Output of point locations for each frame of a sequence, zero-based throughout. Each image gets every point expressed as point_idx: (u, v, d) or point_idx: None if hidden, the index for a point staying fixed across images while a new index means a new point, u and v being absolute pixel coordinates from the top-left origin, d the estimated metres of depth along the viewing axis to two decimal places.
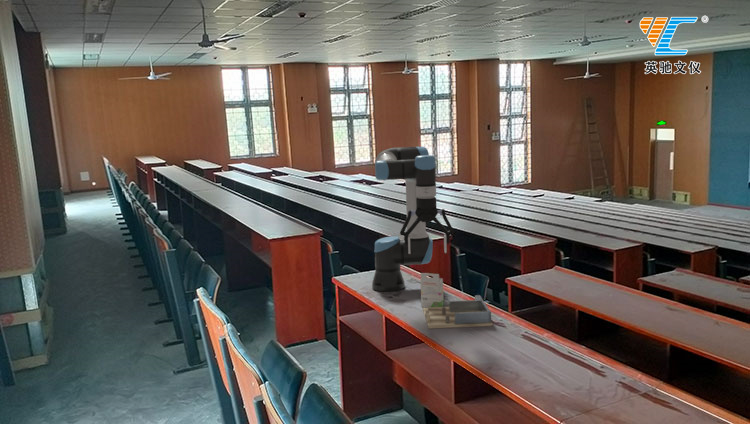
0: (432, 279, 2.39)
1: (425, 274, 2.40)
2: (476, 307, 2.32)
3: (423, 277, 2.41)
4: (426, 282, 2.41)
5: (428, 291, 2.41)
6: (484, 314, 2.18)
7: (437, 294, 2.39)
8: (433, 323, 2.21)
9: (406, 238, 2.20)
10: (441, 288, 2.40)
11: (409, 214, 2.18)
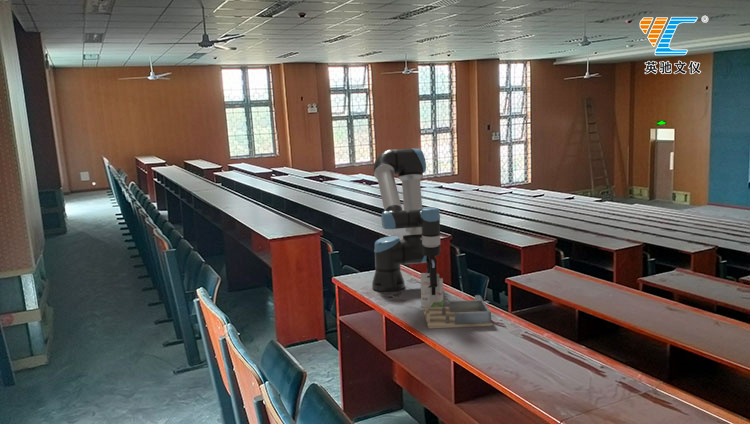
0: None
1: (425, 274, 2.40)
2: (476, 307, 2.32)
3: (423, 277, 2.41)
4: (426, 282, 2.41)
5: (428, 291, 2.41)
6: (484, 314, 2.18)
7: (437, 294, 2.39)
8: (433, 323, 2.21)
9: None
10: (441, 288, 2.40)
11: None
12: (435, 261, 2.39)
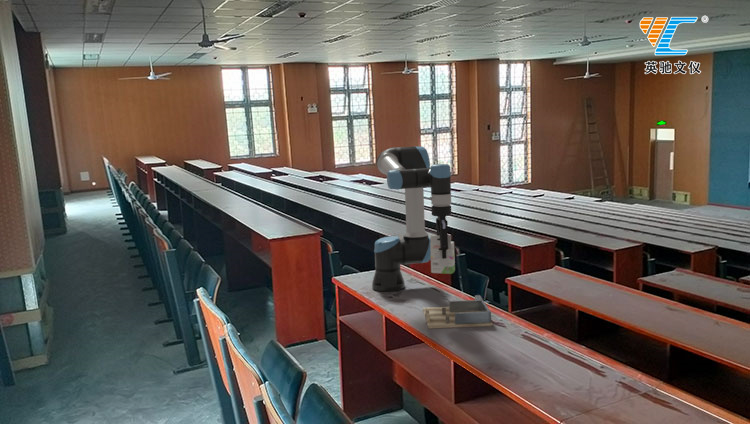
0: None
1: (436, 236, 2.22)
2: (476, 307, 2.32)
3: (433, 241, 2.23)
4: (436, 246, 2.22)
5: (438, 255, 2.23)
6: (484, 314, 2.18)
7: (449, 258, 2.21)
8: (433, 323, 2.21)
9: None
10: (453, 252, 2.22)
11: None
12: (446, 222, 2.21)
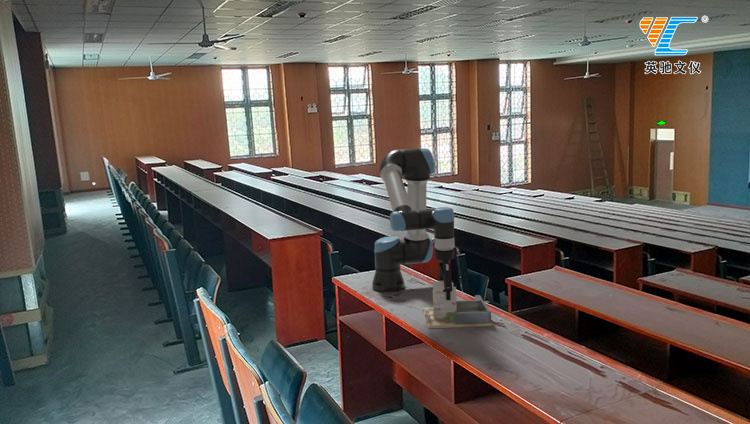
0: None
1: (438, 282, 2.24)
2: (476, 307, 2.32)
3: (435, 286, 2.24)
4: (439, 291, 2.24)
5: (441, 301, 2.24)
6: (484, 314, 2.18)
7: (452, 304, 2.23)
8: (433, 323, 2.21)
9: (440, 281, 2.32)
10: (455, 297, 2.25)
11: (439, 260, 2.29)
12: (449, 265, 2.21)
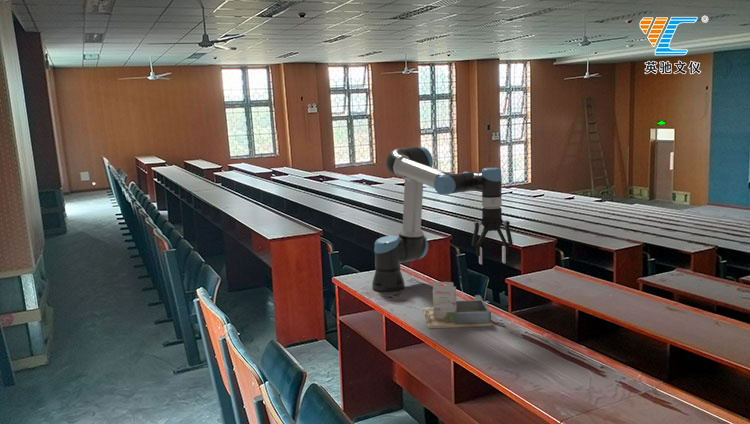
0: (446, 288, 2.23)
1: (438, 282, 2.24)
2: (476, 307, 2.32)
3: (435, 286, 2.24)
4: (439, 291, 2.24)
5: (441, 301, 2.24)
6: (484, 314, 2.18)
7: (451, 304, 2.23)
8: (433, 323, 2.21)
9: (478, 249, 2.32)
10: (455, 297, 2.25)
11: (477, 226, 2.30)
12: None
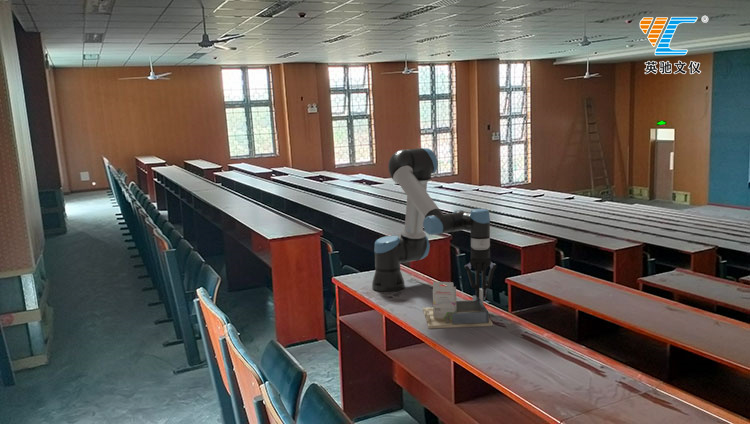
0: (446, 288, 2.23)
1: (438, 282, 2.24)
2: (474, 307, 2.32)
3: (435, 286, 2.24)
4: (439, 291, 2.24)
5: (441, 301, 2.24)
6: (481, 314, 2.18)
7: (451, 304, 2.23)
8: (433, 323, 2.21)
9: (477, 291, 2.35)
10: (455, 297, 2.25)
11: (467, 269, 2.33)
12: None
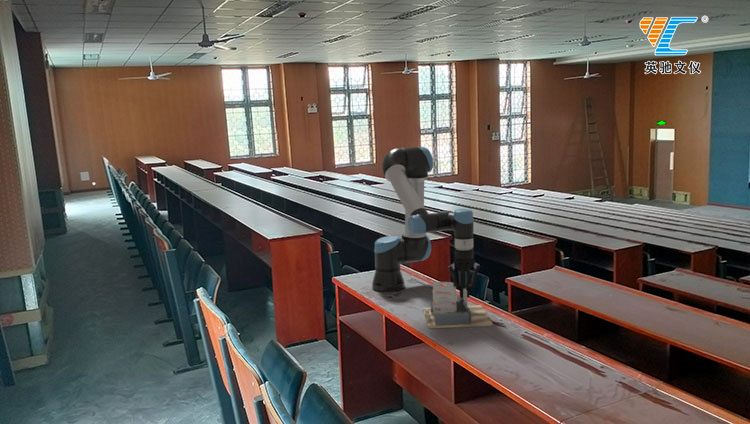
0: (446, 288, 2.23)
1: (438, 282, 2.24)
2: (457, 308, 2.32)
3: (435, 286, 2.24)
4: (439, 291, 2.24)
5: (441, 301, 2.24)
6: (464, 315, 2.18)
7: (451, 304, 2.23)
8: (433, 323, 2.21)
9: (461, 292, 2.35)
10: (455, 297, 2.25)
11: (451, 269, 2.33)
12: None
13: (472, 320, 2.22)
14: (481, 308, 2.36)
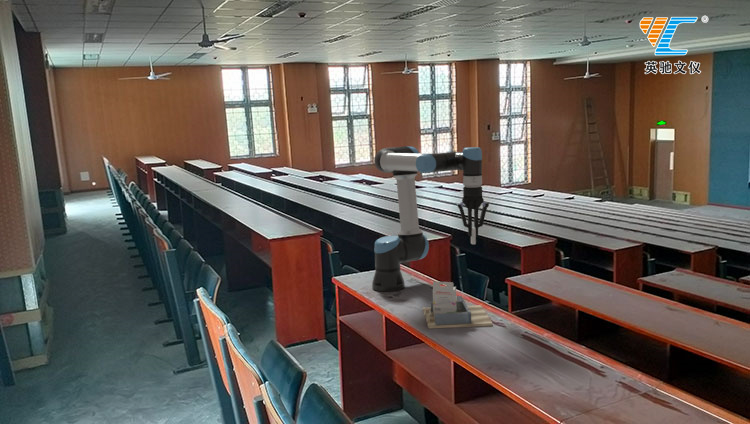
0: (446, 288, 2.23)
1: (438, 282, 2.24)
2: (457, 308, 2.32)
3: (435, 286, 2.24)
4: (439, 291, 2.24)
5: (441, 301, 2.24)
6: (464, 315, 2.18)
7: (451, 304, 2.23)
8: (433, 323, 2.21)
9: (470, 230, 2.36)
10: (455, 297, 2.25)
11: (460, 207, 2.34)
12: None
13: (472, 320, 2.22)
14: (481, 308, 2.36)
